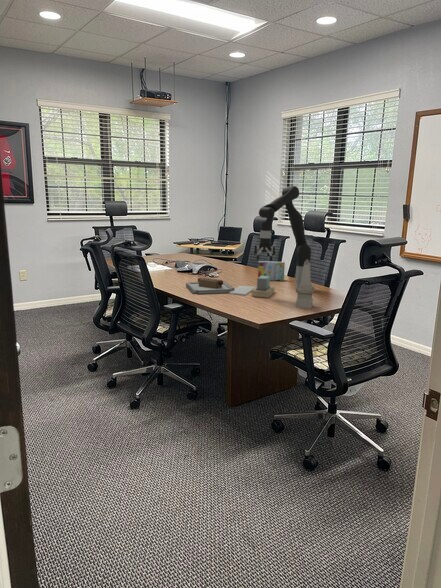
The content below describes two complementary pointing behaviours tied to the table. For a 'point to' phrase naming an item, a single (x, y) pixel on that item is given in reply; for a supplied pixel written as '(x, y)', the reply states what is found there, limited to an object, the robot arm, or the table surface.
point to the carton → (263, 292)
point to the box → (263, 283)
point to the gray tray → (209, 286)
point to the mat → (242, 290)
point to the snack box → (271, 269)
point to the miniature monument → (305, 288)
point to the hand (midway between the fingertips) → (264, 260)
